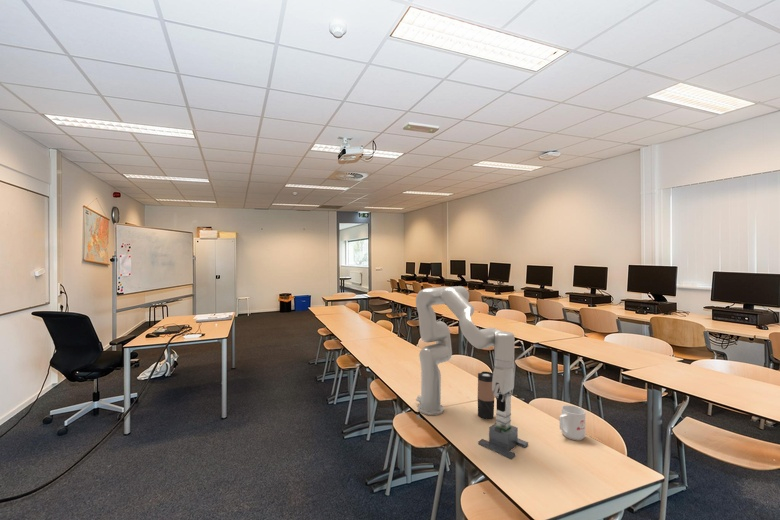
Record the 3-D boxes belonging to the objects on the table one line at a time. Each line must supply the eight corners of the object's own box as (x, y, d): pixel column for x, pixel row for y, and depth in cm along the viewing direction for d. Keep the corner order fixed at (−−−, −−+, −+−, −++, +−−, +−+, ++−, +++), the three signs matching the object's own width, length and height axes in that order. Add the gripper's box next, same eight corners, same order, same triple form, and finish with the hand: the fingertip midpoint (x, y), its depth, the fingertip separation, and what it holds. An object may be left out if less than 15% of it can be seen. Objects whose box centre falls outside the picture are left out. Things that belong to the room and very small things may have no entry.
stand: (478, 444, 136) (478, 424, 136) (496, 432, 146) (496, 413, 146) (511, 459, 126) (511, 437, 126) (528, 445, 136) (528, 425, 136)
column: (495, 432, 136) (496, 392, 136) (501, 429, 139) (501, 390, 139) (505, 436, 133) (506, 395, 133) (510, 432, 136) (511, 393, 136)
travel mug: (495, 420, 156) (495, 377, 156) (477, 419, 158) (478, 376, 158) (493, 413, 164) (493, 372, 164) (477, 411, 165) (477, 370, 165)
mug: (571, 428, 149) (571, 403, 149) (590, 438, 141) (590, 412, 141) (551, 434, 144) (551, 408, 144) (569, 444, 136) (570, 417, 136)
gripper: (505, 357, 144) (505, 400, 144) (484, 365, 133) (484, 412, 133) (522, 361, 139) (522, 405, 139) (502, 370, 127) (501, 418, 127)
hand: (503, 408), depth 136 cm, fingers closed on column, 4 cm apart
